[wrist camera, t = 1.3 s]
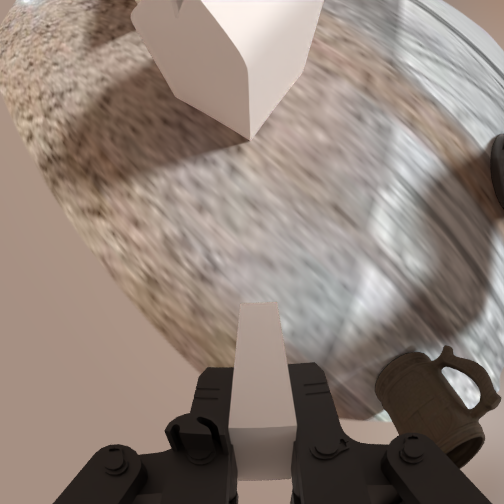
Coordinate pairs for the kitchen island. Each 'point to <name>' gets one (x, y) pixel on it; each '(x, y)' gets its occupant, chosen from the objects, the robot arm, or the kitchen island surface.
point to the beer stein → (436, 402)
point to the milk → (229, 53)
